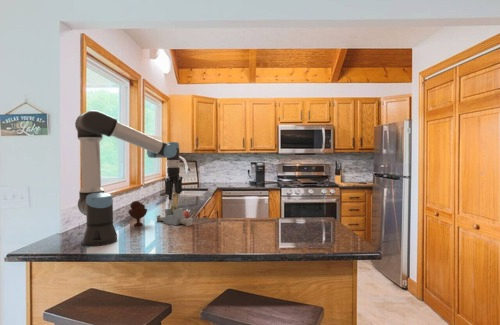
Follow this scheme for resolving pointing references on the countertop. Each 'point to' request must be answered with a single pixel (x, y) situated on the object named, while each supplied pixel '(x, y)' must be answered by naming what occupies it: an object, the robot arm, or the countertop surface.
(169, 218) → the valve
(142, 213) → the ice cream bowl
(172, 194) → the brass nipple
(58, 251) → the countertop surface
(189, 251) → the countertop surface
